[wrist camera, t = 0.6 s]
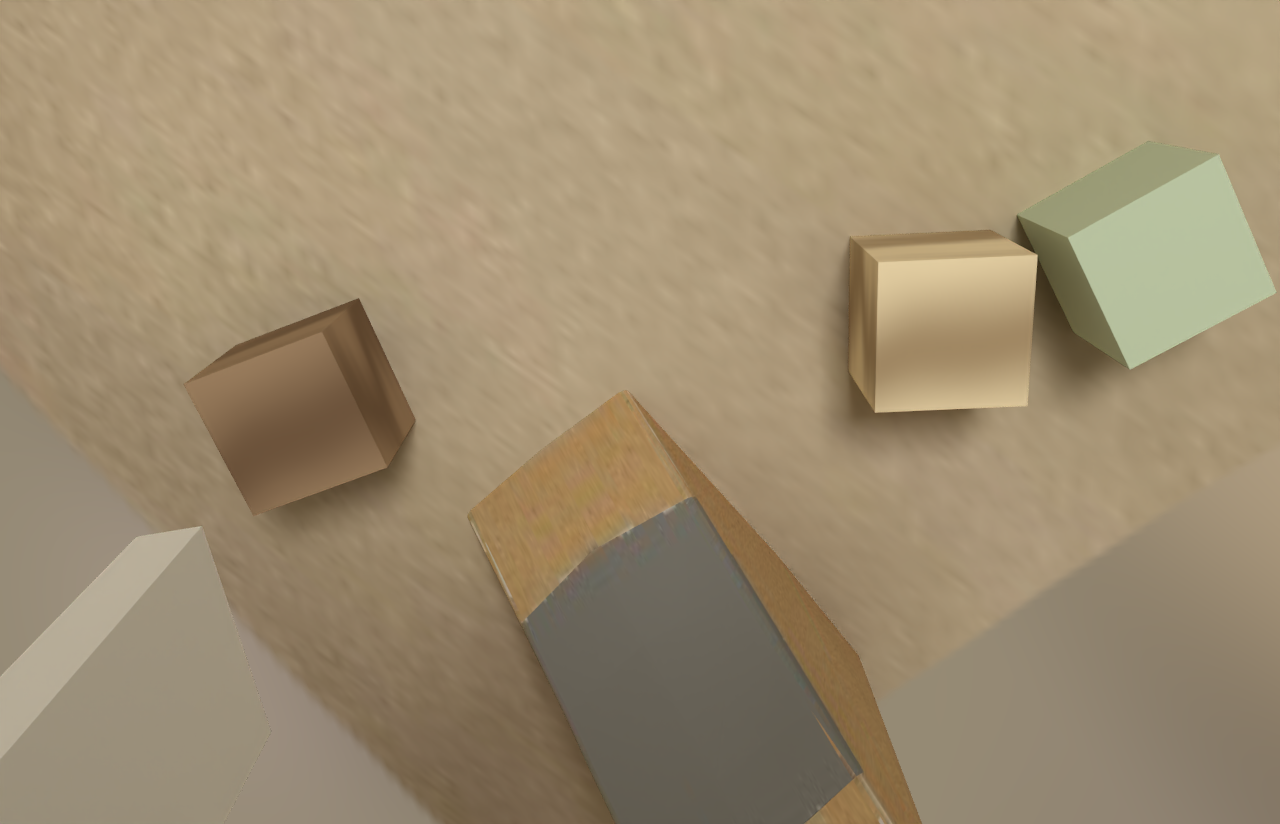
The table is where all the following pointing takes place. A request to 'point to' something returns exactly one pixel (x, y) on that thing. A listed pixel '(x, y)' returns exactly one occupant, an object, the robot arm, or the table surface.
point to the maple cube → (941, 320)
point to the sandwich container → (683, 640)
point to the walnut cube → (303, 407)
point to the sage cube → (1148, 251)
